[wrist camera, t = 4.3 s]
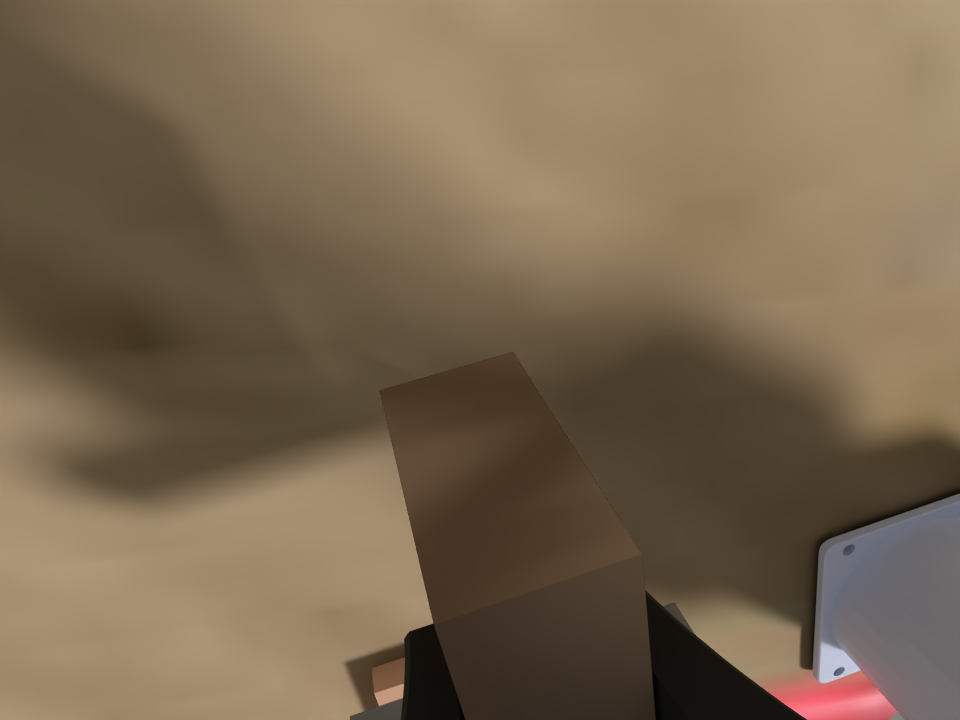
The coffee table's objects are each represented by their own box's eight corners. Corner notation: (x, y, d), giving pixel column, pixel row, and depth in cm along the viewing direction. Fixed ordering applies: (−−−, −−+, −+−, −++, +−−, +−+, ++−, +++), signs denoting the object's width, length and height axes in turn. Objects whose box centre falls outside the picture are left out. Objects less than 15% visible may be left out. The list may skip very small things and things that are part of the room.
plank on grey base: (659, 308, 12) (864, 478, 8) (675, 629, 17) (810, 846, 12) (215, 438, 11) (168, 714, 7) (361, 741, 16) (389, 1020, 11)
